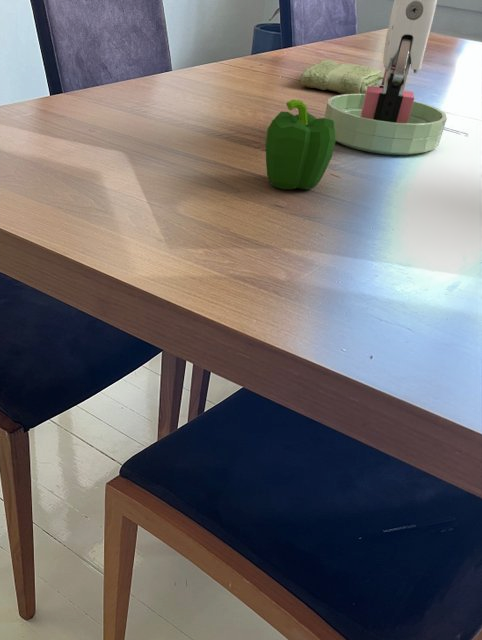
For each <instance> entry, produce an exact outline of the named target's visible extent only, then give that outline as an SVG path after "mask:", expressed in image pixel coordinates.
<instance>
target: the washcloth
mask: <svg viewBox="0 0 482 640" xmlns="http://www.w3.org/2000/svg"><path fill="white" fill-rule="evenodd" d="M383 76H384V73H383V72H382V71H381V70H380V69H376V68H373V67H369V66H368V67H367V66H363V65H361V64H359V65H357V64H353V63H338V62H336V61H334V60H331V59H326V60H320V61H319V62H317V63H315V64H314V65H312V66H309V67H307V68H306V69H304V71H303V72H302V74H301V76H300V85H301V86H303V87H305V88H310V89H316V90H321V91H331V92H335V93H338V94H340V95H343V94H366V90H367V86H372V87H375V86H376V84H378V83H379V82H380V81H381V80H382V79H383Z"/></svg>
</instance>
